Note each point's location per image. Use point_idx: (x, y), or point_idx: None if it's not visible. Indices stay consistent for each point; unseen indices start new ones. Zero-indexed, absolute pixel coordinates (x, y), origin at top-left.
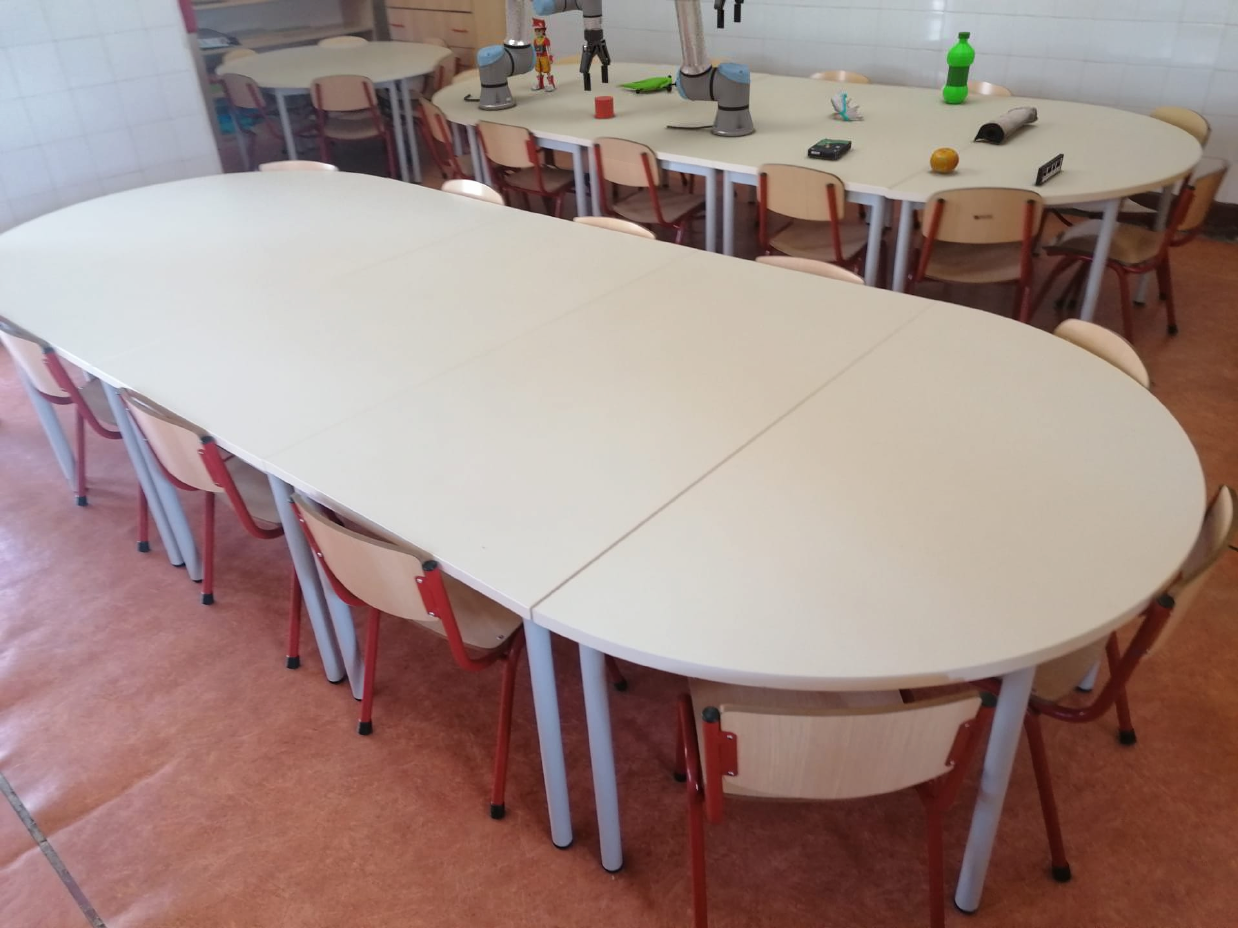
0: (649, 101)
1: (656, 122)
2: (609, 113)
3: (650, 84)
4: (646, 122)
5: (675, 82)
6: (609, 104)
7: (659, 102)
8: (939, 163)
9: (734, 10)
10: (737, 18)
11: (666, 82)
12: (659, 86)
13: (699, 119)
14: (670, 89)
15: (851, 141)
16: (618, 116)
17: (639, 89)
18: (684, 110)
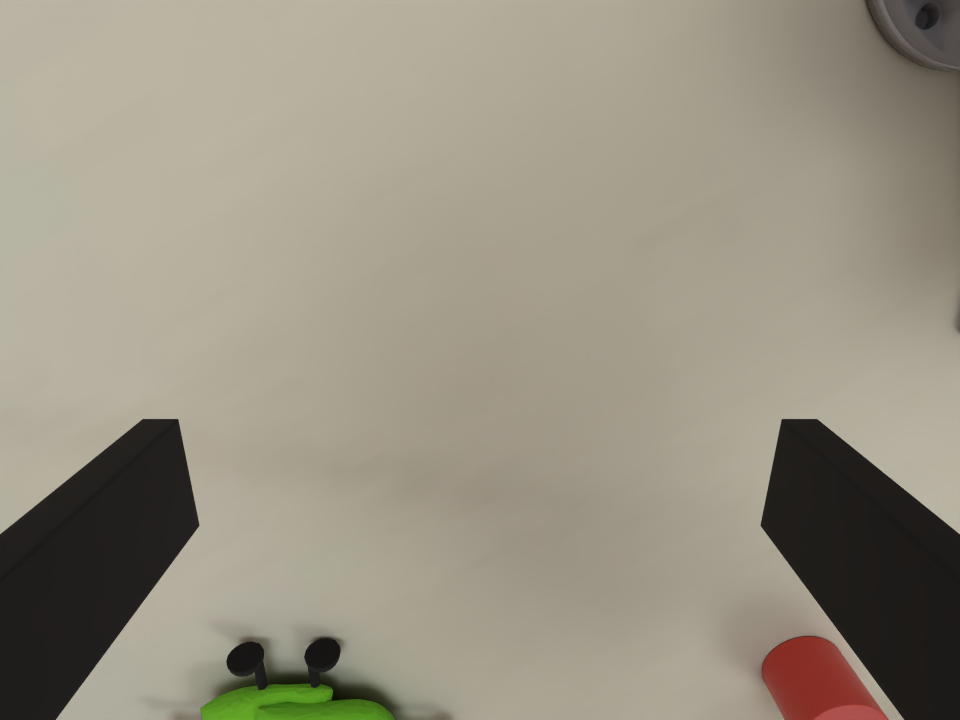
0: (502, 639)
1: (855, 436)
2: (834, 655)
3: None
4: None
5: (256, 670)
6: (856, 687)
7: (502, 596)
8: None
9: (67, 684)
10: (146, 505)
11: (275, 702)
12: (328, 701)
13: (754, 270)
14: (319, 649)
15: None
16: (785, 624)
17: None
18: (602, 429)
